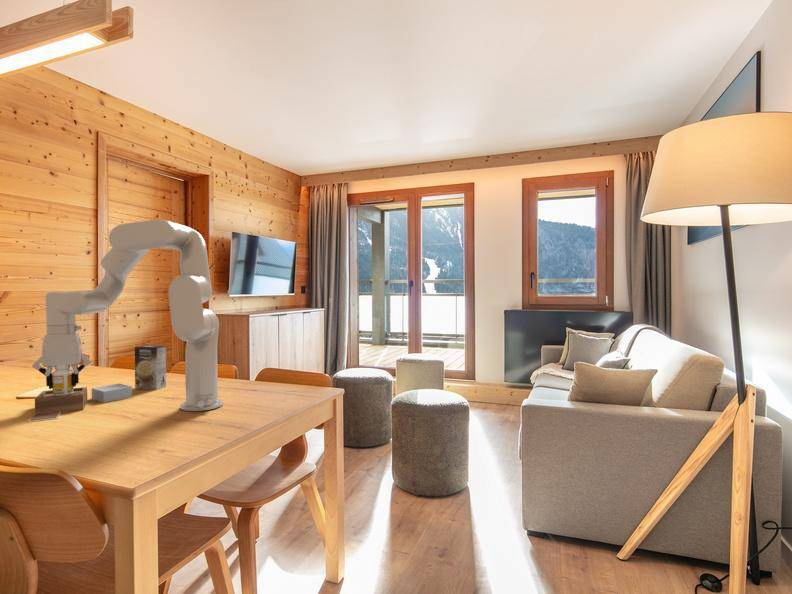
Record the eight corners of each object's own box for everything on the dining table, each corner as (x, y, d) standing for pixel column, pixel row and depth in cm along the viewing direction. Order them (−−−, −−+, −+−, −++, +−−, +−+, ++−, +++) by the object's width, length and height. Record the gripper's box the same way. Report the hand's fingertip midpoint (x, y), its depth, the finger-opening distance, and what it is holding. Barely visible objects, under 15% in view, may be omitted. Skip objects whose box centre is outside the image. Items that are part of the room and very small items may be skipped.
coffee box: (133, 389, 169) (133, 346, 169) (145, 385, 176) (144, 344, 175) (157, 389, 168) (156, 347, 168) (167, 386, 175) (166, 344, 174)
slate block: (132, 398, 158) (131, 386, 158) (103, 403, 150) (103, 391, 150) (119, 394, 163) (119, 383, 163) (91, 399, 155) (91, 388, 155)
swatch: (57, 418, 133) (57, 416, 133) (28, 422, 129) (27, 420, 129) (61, 412, 139) (61, 411, 139) (33, 415, 135) (33, 414, 135)
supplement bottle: (70, 391, 148) (69, 361, 147) (75, 393, 144) (75, 363, 144) (50, 394, 144) (49, 364, 143) (55, 397, 140) (54, 366, 140)
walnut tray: (83, 409, 142) (83, 394, 142) (35, 415, 136) (34, 399, 136) (87, 401, 152) (87, 386, 152) (42, 405, 146) (42, 391, 146)
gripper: (94, 327, 151) (96, 381, 151) (29, 330, 142) (31, 387, 143) (92, 329, 144) (94, 386, 145) (24, 333, 136) (26, 392, 136)
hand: (62, 386), depth 144 cm, fingers closed on supplement bottle, 5 cm apart
